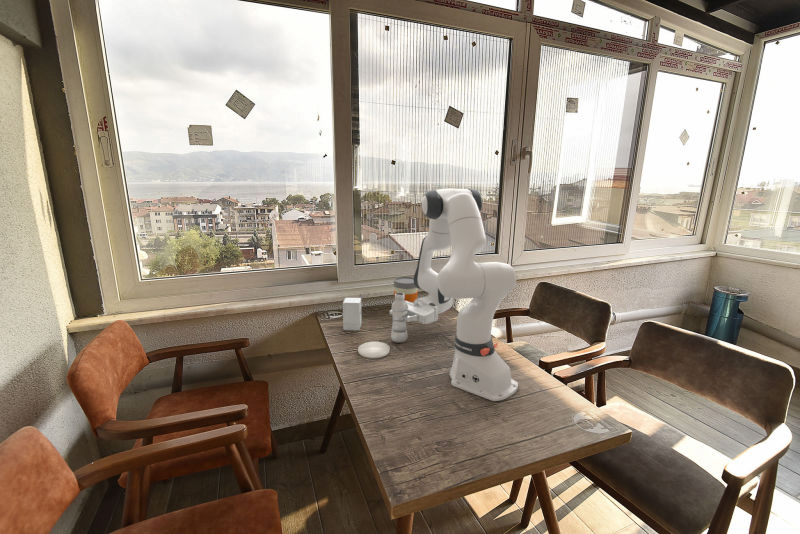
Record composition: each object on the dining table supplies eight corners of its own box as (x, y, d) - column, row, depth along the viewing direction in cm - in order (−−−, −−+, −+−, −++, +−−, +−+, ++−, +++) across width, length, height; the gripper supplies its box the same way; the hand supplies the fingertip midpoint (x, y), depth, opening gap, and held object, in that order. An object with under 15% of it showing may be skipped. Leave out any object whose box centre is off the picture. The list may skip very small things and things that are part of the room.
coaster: (396, 351, 142) (396, 349, 142) (371, 361, 134) (371, 358, 134) (376, 341, 151) (376, 338, 151) (352, 350, 143) (351, 347, 143)
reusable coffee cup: (396, 313, 181) (396, 284, 177) (391, 305, 193) (391, 277, 189) (421, 311, 184) (422, 282, 180) (414, 303, 196) (414, 276, 192)
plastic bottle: (391, 337, 154) (391, 291, 150) (407, 337, 154) (408, 291, 149) (390, 344, 148) (390, 296, 143) (407, 344, 148) (408, 296, 143)
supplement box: (359, 330, 161) (359, 303, 158) (342, 330, 161) (342, 302, 158) (362, 324, 168) (361, 297, 165) (345, 323, 168) (344, 297, 165)
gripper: (406, 295, 164) (381, 302, 155) (440, 307, 149) (416, 315, 140) (405, 308, 165) (381, 316, 156) (440, 322, 151) (416, 331, 142)
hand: (398, 316), depth 148 cm, fingers open, 8 cm apart
